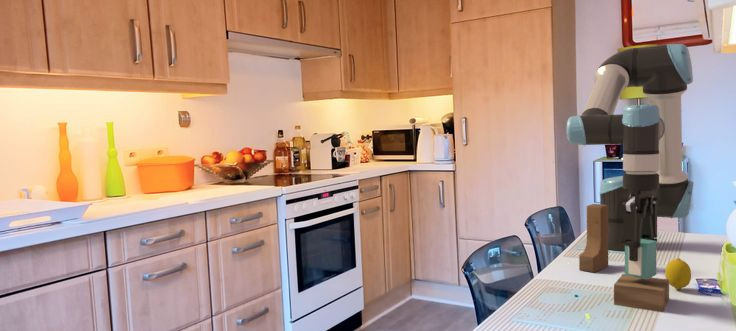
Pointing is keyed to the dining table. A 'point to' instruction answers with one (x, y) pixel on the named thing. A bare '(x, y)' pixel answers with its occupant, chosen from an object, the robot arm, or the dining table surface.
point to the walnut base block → (641, 293)
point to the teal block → (644, 259)
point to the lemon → (678, 273)
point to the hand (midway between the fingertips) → (640, 271)
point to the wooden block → (595, 239)
